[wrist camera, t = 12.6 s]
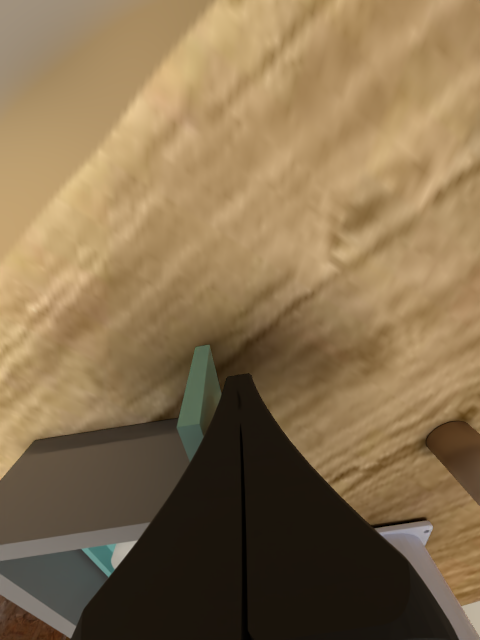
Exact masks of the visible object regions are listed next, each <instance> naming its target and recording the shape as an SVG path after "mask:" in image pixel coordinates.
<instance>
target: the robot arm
mask: <svg viewBox="0 0 480 640" xmlns="http://www.w3.org/2000/svg"><path fill="white" fill-rule="evenodd" d="M432 529H433V526H432V524H431V523H430V522H429V521H419V522H413V523H406V524H399V525H393V526H386V527H379V528H373V527H372V526H371V525H370V524H369V523H367V522H366V521H365V520H364V519H363V518H362V517H361V516H360V515H359V514H358V513H357V512H356V511H355V510H354V509H353V508H352V507H351V506H350V505H349V504H348V503H347V502H346V501H345V500H344V499H342V498H341V497H340V496H339V495H338V493H337V492H336V491H335V490H334V489H333V488H332V487H331V486H330V485H329V484H328V483H327V482H326V481H325V480H324V479H323V478H322V477H321V476H320V475H319V474H318V472H317V471H316V470H315V469H314V468H313V467H312V466H311V465H310V464H309V463H308V461H307V460H306V459H305V458H304V457H303V456H302V455H301V453H300V452H299V451H298V450H297V449H296V447H295V446H294V445H293V444H292V442H291V441H290V440H289V439H288V437H287V436H286V435H285V433H284V432H283V431H282V429H281V428H280V426H279V425H278V424H277V422H276V421H275V419H274V418H273V416H272V415H271V413H270V412H269V410H268V409H267V407H266V405H265V404H264V402H263V400H262V399H261V397H260V395H259V393H258V391H257V389H256V387H255V385H254V382H253V379H252V375H250V374H249V373H248V374H242V375H236V376H229V377H227V379H226V381H225V385H224V389H223V392H222V395H221V398H220V401H219V403H218V406H217V408H216V411H215V413H214V416H213V418H212V420H211V423H210V425H209V427H208V429H207V431H206V433H205V435H204V437H203V439H202V441H201V443H200V445H199V447H198V449H197V451H196V453H195V455H194V456H193V458H192V460H191V462H190V463H189V465H188V467H187V468H186V470H185V472H184V473H183V475H182V477H181V478H180V480H179V481H178V483H177V485H176V486H175V488H174V489H173V491H172V492H171V494H170V495H169V497H168V498H167V500H166V501H165V503H164V504H163V506H162V507H161V509H160V510H159V511H158V513H157V514H156V516H155V517H154V518H153V520H152V521H151V523H150V524H149V525H148V527H147V528H146V530H145V531H144V532H143V534H142V535H141V536H140V538H139V539H138V541H137V542H136V543H135V545H134V546H133V547H132V549H131V550H130V551H129V552H128V554H127V555H126V556H125V557H124V559H123V560H122V561H121V562H120V564H119V565H118V566H117V568H116V569H115V570H114V571H113V573H112V574H111V575H110V576H109V578H108V579H107V580H106V581H105V583H104V584H103V585H102V586H101V588H100V589H99V590H98V591H97V593H96V594H95V595H94V596H93V598H92V599H91V600H90V601H89V603H88V604H87V605H86V606H85V608H84V609H83V612H82V614H81V616H80V619H79V621H78V623H77V626H76V628H75V630H74V632H73V635H72V637H71V639H70V640H480V637H479V635H478V634H477V632H476V630H475V629H474V627H473V625H472V624H471V622H470V620H469V619H468V617H467V615H466V614H465V612H464V611H463V609H462V607H461V606H460V604H459V602H458V601H457V599H456V597H455V596H454V594H453V592H452V591H451V589H450V587H449V586H448V584H447V582H446V581H445V579H444V577H443V576H442V574H441V573H440V571H439V569H438V568H437V566H436V564H435V563H434V561H433V559H432V558H431V556H430V554H429V553H428V551H427V549H426V548H425V545H426V542H427V540H428V538H429V536H430V533H431V531H432Z"/></svg>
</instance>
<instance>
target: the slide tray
mask: <svg viewBox="0 0 480 640" xmlns="http://www.w3.org/2000/svg"><path fill="white" fill-rule="evenodd" d="M221 395H222V394H221V390H220V386H219V382H218V377H217V373H216V369H215V365H214V361H213V357H212V352H211V348H210V345H204V346H198V347H195V351H194V355H193V360H192V364H191V368H190V372H189V376H188V381H187V385H186V389H185V393H184V398H183V402H182V406H181V410H180V415H179V419H178V423H177V430H178V433H179V435H180V438H181V440H182V443H183V446H184V448H185V451H186V453H187V456H188V458H189V461H190V462H191V460H192V458H193V456H194V455H195V453H196V451H197V449H198V447H199V445H200V443H201V441H202V439H203V437H204V435H205V433H206V431H207V429H208V427H209V425H210V423H211V420H212V418H213V416H214V413H215V411H216V408H217V406H218V403H219V401H220V398H221ZM115 546H116V544H110V545H104V546H97V547H90V548H84V549H82V550H83V551H84V552H85V553H86V554H87V555H88V556H89V558H90V559H91V560H92V561H93V562H94V563H95V564H96V565H97V566H98V567H99V568H100V569H101V570H102V571H103V572H104V573H105V574H106V575H107V576H108V577H109V576H110V575H111V574H112V573H113V571H114V570H115V569H114V568H113V566H112V564H111V558H112V555H113V552H114V549H115Z"/></svg>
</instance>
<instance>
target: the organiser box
mask: <svg viewBox="0 0 480 640" xmlns="http://www.w3.org/2000/svg"><path fill="white" fill-rule="evenodd" d="M178 419H179V418H177V419H170V420H164V421H157V422H151V423H144V424H138V425H131V426H125V427H119V428H112V429H106V430H99V431H93V432H86V433H80V434H73V435H67V436H60V437H54V438H48V439H41V440H35V441H34V442H33V443H32V444H31V445H30V446H29V448H28V449H27V450H26V451H25V452H24V453H23V455H22V456H21V457H20V458H19V459H18V460H17V462H16V463H15V464H14V465H13V466H12V467H11V469H10V470H9V471H8V472H7V473H6V474H5V476H4V477H3V478H2V479H1V480H0V595H2V596H4V597H5V598H7V599H8V600H10V601H12V602H13V603H15V604H16V605H18V606H20V607H21V608H23V609H24V610H26V611H28V612H29V613H31V614H32V615H34V616H36V617H37V618H39V619H40V620H42V621H44V622H45V623H47V624H48V625H50V626H52V627H53V628H55V629H56V630H58V631H60V632H61V633H63V634H64V635H66V636H68V637H69V638H71V637H72V635H73V632H74V630H75V628H76V626H77V623H78V621H79V619H80V616H81V614H82V612H83V609H84V608H85V606H86V605H87V604H88V603H89V601H90V600H91V599H92V598H93V596H94V595H95V594H96V593H97V591H98V590H99V589H100V588H101V586H102V585H103V584H104V583H105V581H106V580H107V579H108V578H109V577H108V576H107V575H106V574H105V573H104V572H103V571H102V570H101V569H100V568H99V567H98V566H97V565H96V564H95V563H94V562H93V561H92V560H91V559H90V558H89V556H88V555H87V554H86V553H85V552H84V551H83V550H82V549H84V548H90V547H97V546H104V545H110V544H117V543H124V542H130V541H137V540H138V539H139V538H140V536H141V535H142V534H143V532H144V531H145V530H146V528H147V527H148V525H149V524H150V523H151V521H152V520H153V518H154V517H155V516H156V514H157V513H158V511H159V510H160V509H161V507H162V506H163V504H164V503H165V501H166V500H167V498H168V497H169V495H170V494H171V492H172V491H173V489H174V488H175V486H176V485H177V483H178V481H179V480H180V478H181V477H182V475H183V473H184V472H185V470H186V468H187V467H188V465H189V463H190V461H189V458H188V456H187V453H186V451H185V448H184V446H183V443H182V440H181V438H180V435H179V433H178V430H177V423H178Z"/></svg>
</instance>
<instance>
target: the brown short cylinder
mask: <svg viewBox="0 0 480 640" xmlns="http://www.w3.org/2000/svg"><path fill="white" fill-rule="evenodd" d="M426 445H427V447H428V448H429V449H430V450H431V451H432V452H433V454H434V455H435V456H436V457H437V458H438V459H439V460H440V462H441V463H442V464H443V465H444V466H445V467H446V468H447V470H448V471H449V472H450V473H451V474H452V475H453V476H454V477H455V479H456V480H457V481H458V482H459V483H460V484H461V485H462V487H463V488H464V489H465V490H466V491H467V492H468V493H469V494H470V496H471V497H472V498H473V499H474V500H475V501H476V502H477V504H478V505H479V506H480V434H479V433H478V432H477V431H476V430H474V429H473V428H472V427H471V426H470V425H469V424H467V423H466V422H462V421H454V422H449V423H446V424H444V425H441V426H439V427H438V428H436V429H435V430H434V431H433V432H431V434H430V435H429V436H428V438H427V441H426Z"/></svg>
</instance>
